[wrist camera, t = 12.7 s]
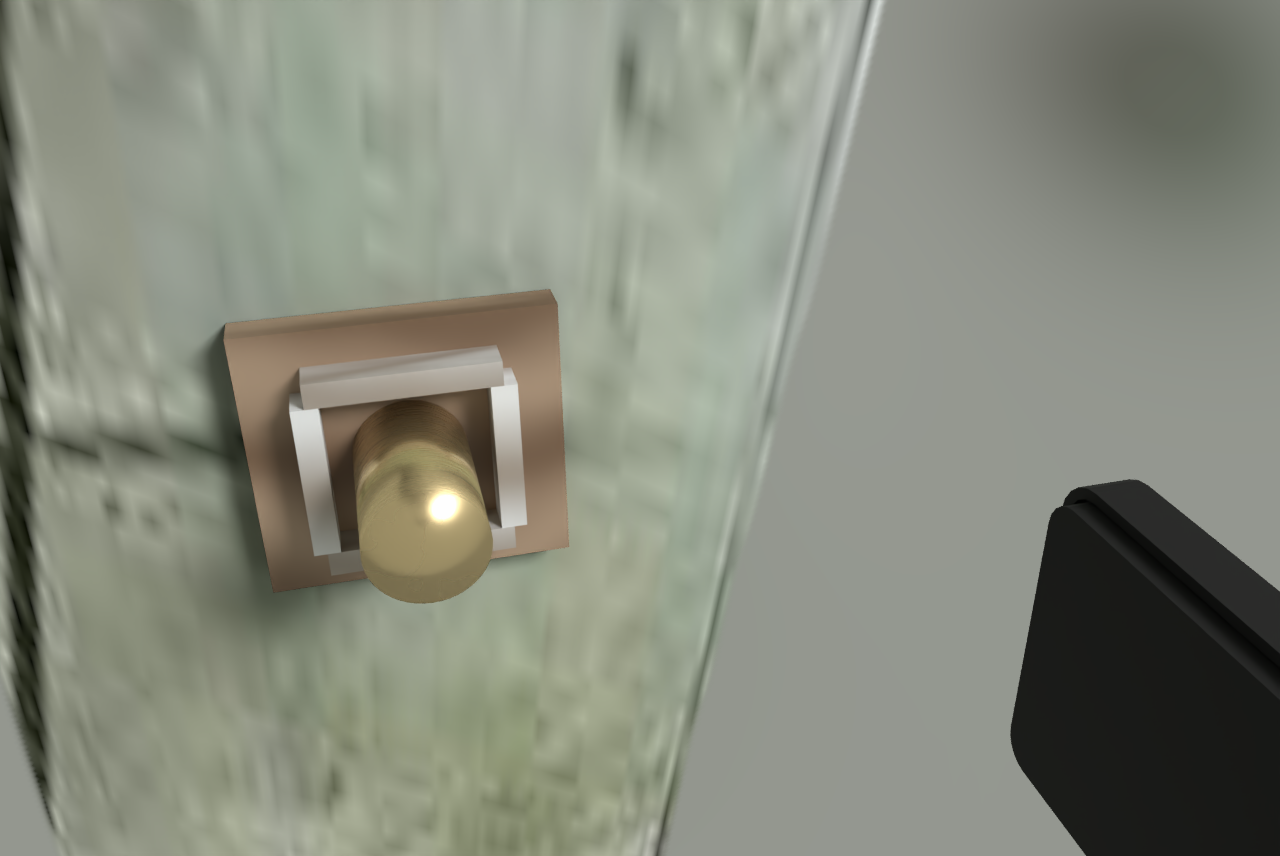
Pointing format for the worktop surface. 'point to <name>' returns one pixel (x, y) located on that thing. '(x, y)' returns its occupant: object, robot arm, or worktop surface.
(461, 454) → the cylinder
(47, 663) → the worktop surface
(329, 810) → the worktop surface
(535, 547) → the fitting board
